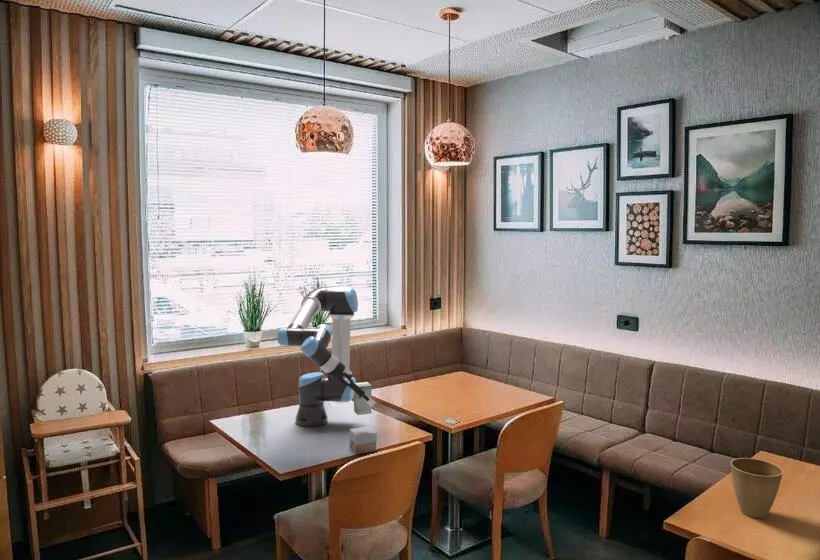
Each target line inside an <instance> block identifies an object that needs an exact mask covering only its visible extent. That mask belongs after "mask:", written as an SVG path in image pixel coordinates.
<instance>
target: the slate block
mask: <svg viewBox="0 0 820 560" xmlns="http://www.w3.org/2000/svg"><path fill="white" fill-rule="evenodd" d="M350 439H351V440H352V441H353V442H354V443H355V444H356V445H361V444H368V443H375V442H376V443H377V442H378V432H377V431H375V430H374V429H373V428H372V427H371V426H370V425H369V426H364V427H362V426H361V427H354V428H349V440H350Z"/></svg>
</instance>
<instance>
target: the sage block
mask: <svg viewBox="0 0 820 560" xmlns="http://www.w3.org/2000/svg"><path fill="white" fill-rule="evenodd" d="M355 384H356V385H357V386H358V387H359V388H360V389H361V390H362V391H364V392H365V393H366V394H367V395H368V396H369V397H370V398H372V384H371V383H369V382H368V381H364V382H356V383H355ZM353 412H354V413H355V414H356V415H357V416H361V415H362V416H363V415H370V414H372V407H370V406H369V405H368V404H367V403H366V402H365V401H364V400H363V399H362V398H360V399H359V395H358V394H357V393H356V392H355V391H354V396H353Z"/></svg>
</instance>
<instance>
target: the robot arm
mask: <svg viewBox="0 0 820 560" xmlns="http://www.w3.org/2000/svg"><path fill="white" fill-rule="evenodd" d="M358 302H359V301H358V295H357V291H356V289H354V288H353V287H349V286H348V287H346V286H321V287H318V288H316V289H313V290H312V291H310V292H308V293H307V294H306V295H304V297H303V298H302V300H301V303H300V307H299V309H298V311H297V312H296V313H295V316H294V317H293V319H292V320H291V322H290V323H289V325H288V326H287V327H286V326H285V327H280V328H279V329H278V332H277V342H278V344H279V345H280V346H283V347H300V352H301V351H302V353H303V354H304V355H305V356H306V357H307V358H308V359H309V360H311V361H312V362H313V363H314V364H315V365H316V366H318V368H319V371H317V372H315V371H314V372H310V373H306V374H303V375H301V376H300V377H299V380H298V409H297V412H296V416H295V424H296V425H298V426H300V427H308V428H309V427H319V426H323V425H326V424H327V423H328V418H329V417H328V414H327V411H326V408H325V405H324V403H325V402H335V403H337V402H339V403H348V402H349V403H350V402H351V401H352V400H353V399H354V391H355V392H356V393H357V394H358V395H359V399H360V398H362V399H363V400H364V401H365V402H366V403H367V404H368V405H369V406H370V407H371V408H373V406H374V405H375V404H376V401H375V400H374V399H373V398H372V397H371V398H370V397H369V396H368V395H367V394H366V393H365V392H364V391H362V390H361V389H360V388H359V387H358V386H357V385H356V384H355V383H357V382H356V381H357V379H356V377H354V376H353V372H352V371H351V370H350V357H351V356H350V355H351V353H350V352H351V320H352V318H354V317H355V313H357V312H358V310H359V309H358V307H359V303H358ZM320 312H329V317H331V320H332V328H331V327H330V326H329V325H328V324H324V323H321V324H318V325H317V326H316V327H315V328H310V325H311V323H312V322H313V319H314V318H315V316H316V315H318V314H319V313H320ZM330 342H331V351H330V350H329V349H328V347H329V344H330ZM321 371H323V372H324V373H325V374H326V375H327V376H325V374H324V373H323V372H321Z"/></svg>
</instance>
